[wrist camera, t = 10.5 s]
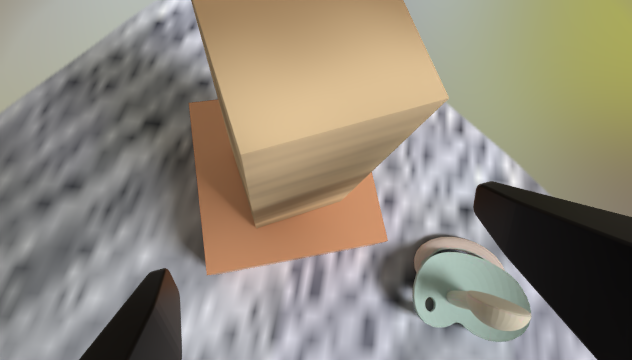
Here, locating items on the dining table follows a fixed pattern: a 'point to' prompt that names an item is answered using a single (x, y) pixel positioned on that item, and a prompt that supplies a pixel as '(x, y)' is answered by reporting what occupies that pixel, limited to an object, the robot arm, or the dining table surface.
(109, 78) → the dining table surface
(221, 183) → the terracotta block
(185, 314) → the dining table surface
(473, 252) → the pacifier
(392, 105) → the birch block
